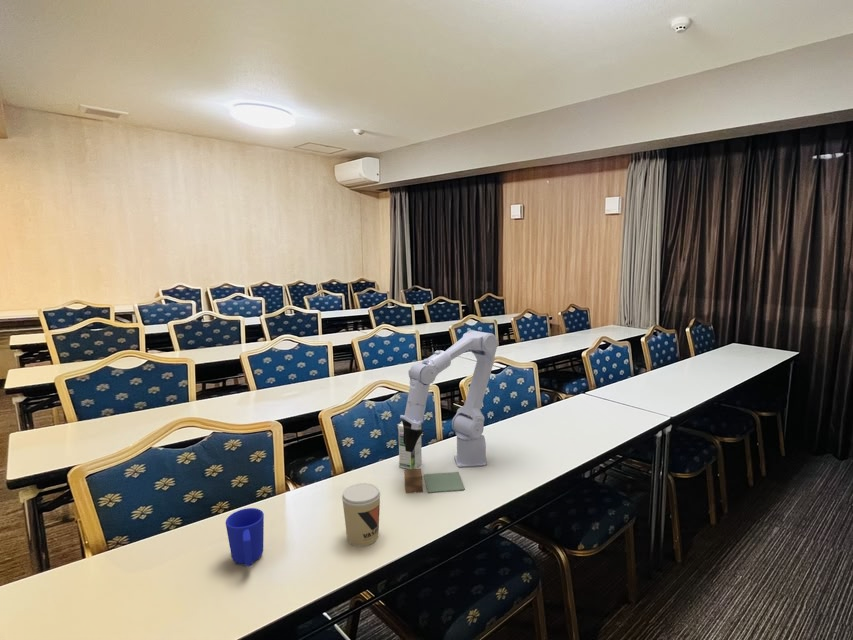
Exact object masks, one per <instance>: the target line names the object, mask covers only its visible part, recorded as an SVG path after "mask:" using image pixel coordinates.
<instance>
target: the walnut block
mask: <svg viewBox="0 0 853 640" xmlns="http://www.w3.org/2000/svg"><path fill="white" fill-rule="evenodd" d="M403 472H404V473H403V475H404V478H403V479H404V491H405V494H414V492H416V493H423V491H424V489H423V488H424V487H423V486H424V484H423V482H424V481H423V471H422V468H416V469H406V468H404V470H403Z"/></svg>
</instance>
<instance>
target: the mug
mask: <svg viewBox="0 0 853 640" xmlns="http://www.w3.org/2000/svg"><path fill="white" fill-rule="evenodd" d="M264 519H265V514H264V511H262V509H259V508H255V507H248V508H244V509H243V508H242V509H239V510H237V511H234V512H232V513H231V514H230V515H229V516H228V517H227V518H226V520H225V528H226V534H227V538H228V543H229V544H228V545H229V549H230V550H229V551H230V555H231V558H232V561H233V562H234V563H235V564H238V565H245V567H250V566H253V565H252V564H253V563H254V562H256V561H257V560H259V559H260V558H261V556H262V554H263V552H264V535H265V533H264V528H265V527H264V526H265V525H264V523H265V521H264Z"/></svg>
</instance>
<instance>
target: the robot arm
mask: <svg viewBox="0 0 853 640" xmlns="http://www.w3.org/2000/svg"><path fill="white" fill-rule="evenodd" d="M498 345H499V341H498V339H497V337H496V335H495V334H493V332H484V331H479V330H475V329H470V330H468V331H466V332H465V333H463V335H462V337H461V338H460V339H458V341H456V342H455V343H453V344H452V345H451V346H450V347H448V348H447V349H446V350H445V351H444V350H441V349H440V350H438V349H437V350H436V351H434V354H432V355H430V356H429V357H427V358H424V359H423V361H421V362H415V363H414V364H412V366H411V367H410V369H409V370H408V378H409V390H408V394H407V400H406V406H405V411H404V415H403V414H400V416H399V417H400V419H401V423H402V422H403V429H404V437H403V441H404V444H405V450H406V451H407V452H413V450H414V448H415V445H416V443H417V441H418V439H419V437H420V436H421V437H422V435H423V433H424V430H423V429H421V430H420V429H418V428H419V425H420V424H421V425H422V424H423V423H424V418H425V417H424V416H425V411H426V407H427V400H428V396H429V390H430V385H431V384H433V383H434V381H435V380H436V378H437V376H438V375H439V374H440V373H441V372H442V371H444V370H446V369H447V368H449V367H450V366H451V364H452V361H453V360H454V359H456V358H457V357H459V356H461V355H463V354H464V353H466V352H468V351H470V352H471V353H472V354H473V356H474V357H475V359H476V363H475V366H474V369H473V375H472V378H471V381H470V385H469V388H468V391H467V396H466V398H465V402H464V405H462V406H461V407H459V408H458V409H457V410H456V414H455V415H454V416H453V418H452V420H451V428H452V430H453V431H454V432H455V433H454V434H455V435H456V455H454V457H453V458H454V461H455V463H456V465H457V467H458V468H464V467H465V468H468V467H478V466H479V467H481V466H487V445H486V444H487V443H486V438H485V437H486V436H485V435H484V434H483V432H484V426H485V425H484V424H485V423H484V422H485V419H486V417H485V416H484V415H483V413H482V411H481V409H482V406H483V405H482V404H483V401H484V398H485V395H486V391H487V388H488V384H489V380H490V376H491V375H492V373H491V372H492V370H493V366H494V362H495V360H496V359H495V357H496V352H497V349H498Z"/></svg>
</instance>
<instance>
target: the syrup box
mask: <svg viewBox="0 0 853 640" xmlns="http://www.w3.org/2000/svg"><path fill="white" fill-rule="evenodd" d="M418 429H420V430H422V423H421V424H420V425H419V428H418ZM397 430H398V457H399V458H398V459H399V460H398V467H399V468H401V469H402V468H403V469H418V467H419V466H420V465H421V464H422V460H423V459H422V435H421V436H420V437H419V439H418V441H417V443H416V445H415V448H414V450H413V452H407V451H406V450H405V444H404V441H403V437H404V429H403V422H402V421H401V423H400V424H398V427H397Z"/></svg>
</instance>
